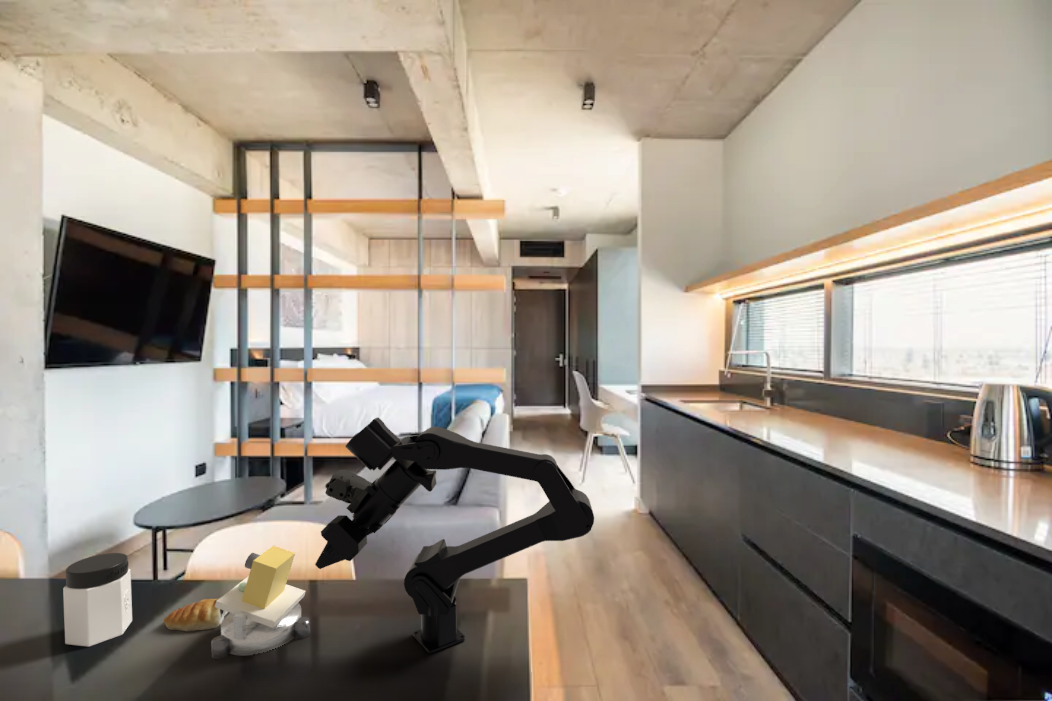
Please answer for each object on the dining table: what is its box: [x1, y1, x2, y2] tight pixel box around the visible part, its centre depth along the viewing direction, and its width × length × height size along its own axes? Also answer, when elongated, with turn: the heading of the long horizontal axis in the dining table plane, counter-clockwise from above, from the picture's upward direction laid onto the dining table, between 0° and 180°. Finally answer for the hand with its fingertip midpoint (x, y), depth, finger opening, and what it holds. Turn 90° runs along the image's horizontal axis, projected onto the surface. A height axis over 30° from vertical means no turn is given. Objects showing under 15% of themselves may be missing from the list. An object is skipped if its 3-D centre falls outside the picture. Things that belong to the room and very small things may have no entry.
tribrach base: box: [210, 602, 311, 660], centre depth 88 cm, size 14×14×6 cm
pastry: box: [163, 598, 229, 632], centre depth 92 cm, size 9×7×4 cm
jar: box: [62, 552, 133, 647], centre depth 89 cm, size 9×8×12 cm
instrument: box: [215, 545, 306, 628], centre depth 88 cm, size 10×11×8 cm
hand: (328, 555), depth 87 cm, fingers open, 8 cm apart
